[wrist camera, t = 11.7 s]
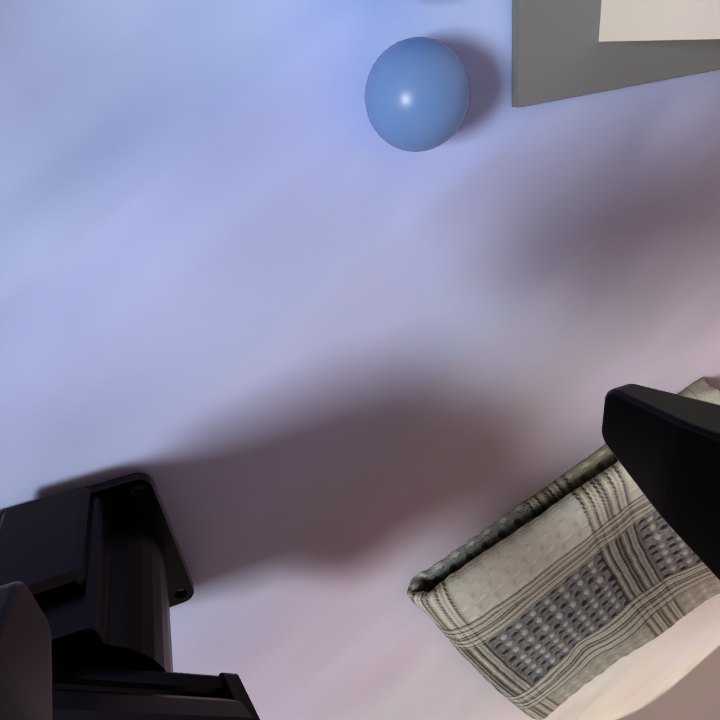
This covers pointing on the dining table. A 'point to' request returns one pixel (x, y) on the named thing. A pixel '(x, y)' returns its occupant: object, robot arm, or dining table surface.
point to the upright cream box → (659, 20)
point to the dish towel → (566, 583)
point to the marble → (417, 94)
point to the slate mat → (590, 54)
